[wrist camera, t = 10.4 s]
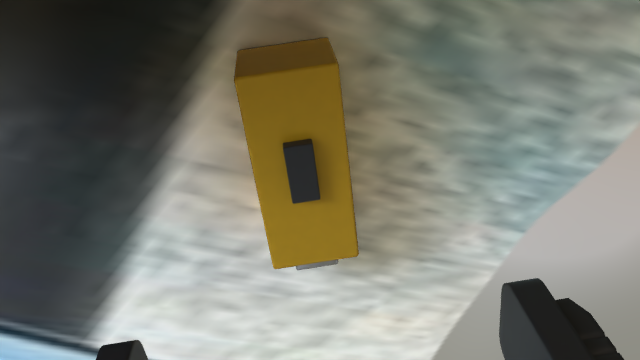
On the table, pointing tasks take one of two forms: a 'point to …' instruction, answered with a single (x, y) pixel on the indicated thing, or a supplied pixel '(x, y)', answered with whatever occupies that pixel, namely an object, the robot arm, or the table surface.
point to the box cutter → (298, 151)
